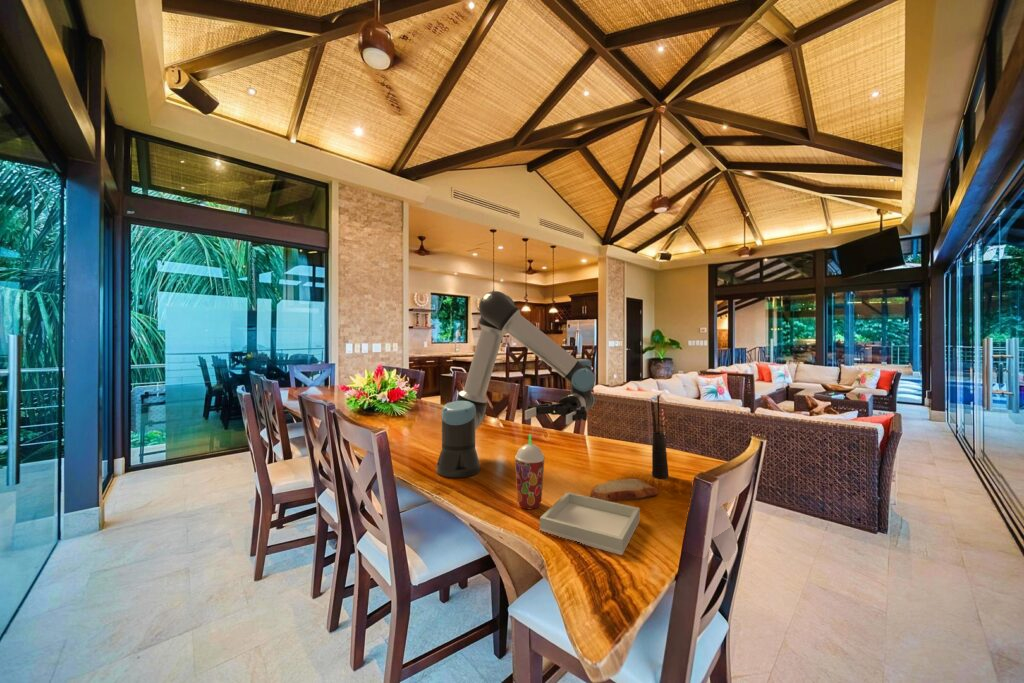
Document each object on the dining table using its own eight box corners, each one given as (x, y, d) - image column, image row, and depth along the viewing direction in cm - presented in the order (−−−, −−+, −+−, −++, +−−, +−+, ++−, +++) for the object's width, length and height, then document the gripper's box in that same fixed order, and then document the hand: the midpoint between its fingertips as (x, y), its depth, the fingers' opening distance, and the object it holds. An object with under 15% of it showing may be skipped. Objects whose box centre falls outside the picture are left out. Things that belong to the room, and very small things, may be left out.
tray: (539, 531, 97) (539, 517, 97) (567, 504, 113) (567, 492, 113) (621, 555, 87) (622, 539, 87) (639, 521, 103) (639, 508, 103)
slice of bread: (586, 500, 117) (586, 487, 117) (603, 480, 133) (603, 468, 132) (650, 513, 108) (650, 500, 108) (660, 490, 124) (660, 478, 124)
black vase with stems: (654, 468, 143) (655, 391, 142) (680, 476, 136) (681, 394, 135) (640, 474, 137) (642, 393, 136) (667, 482, 130) (668, 397, 129)
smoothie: (546, 500, 115) (546, 431, 115) (541, 513, 107) (542, 439, 106) (517, 497, 117) (518, 430, 116) (511, 509, 109) (512, 437, 108)
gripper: (606, 420, 132) (585, 435, 114) (539, 413, 144) (510, 425, 126) (606, 398, 132) (585, 409, 114) (539, 392, 144) (510, 401, 126)
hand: (545, 417), depth 120 cm, fingers open, 13 cm apart
